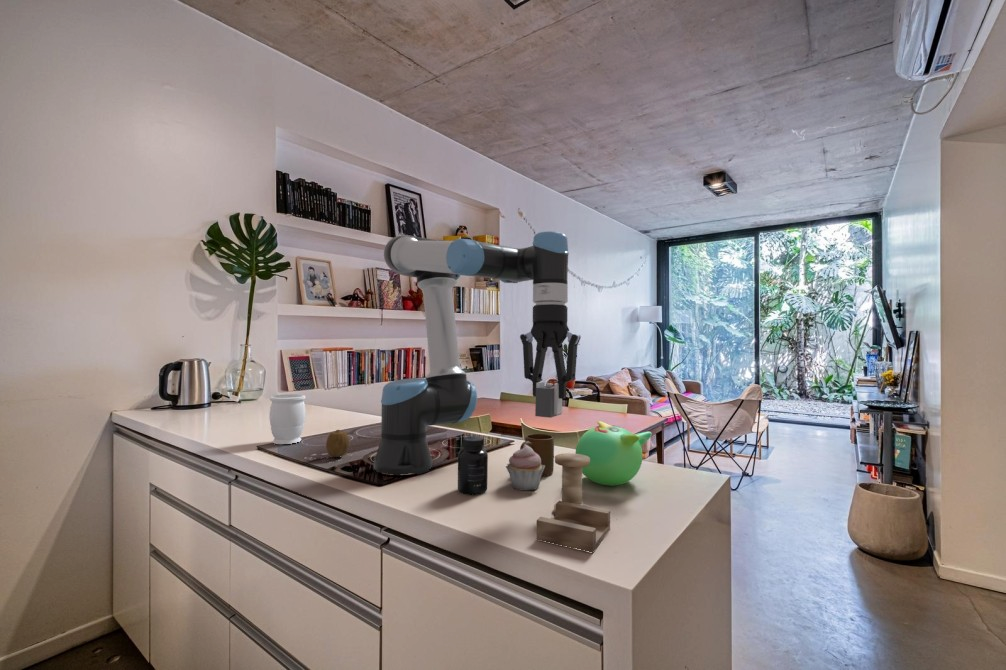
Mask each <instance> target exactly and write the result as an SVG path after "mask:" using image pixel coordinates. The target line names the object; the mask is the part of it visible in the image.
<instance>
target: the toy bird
mask: <svg viewBox="0 0 1006 670" xmlns="http://www.w3.org/2000/svg"><path fill="white" fill-rule="evenodd" d="M596 423H597V425H598V426H594V427H592V428H589V429H588V430H587V431H586V432H584V433H583V434H581V436H580V438H579V440H578V441H577V444H576V447H575V453H574V454H582V455H585V456H588V457H589V458H590V465H588V466H585V467H582V475H583V476H585V477H586V479H589V480H590V481H591V482H594V483H597V484H600V485H603V486H610V487H611V486H620V485H624V484H626V483H628V482H630V481H631V480H632V479H634V478H635V477H636V475H637V474H638V472H639V471H640V470H641V469H640V468H641V466H642V462H643V457H644V456H643V448H642V447H643V445H644V444H646V443H647V441H648V440H649V439H651V437H652V435H653V433H652V432H651V431H643V432H639V433H635V434H634V433H632V432H631V431H629V430H627V429H625V428H623V427H621V426H618V425H611V424H608V423H607V422H604V421H601V420H597V421H596Z"/></svg>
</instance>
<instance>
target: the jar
mask: <svg viewBox="0 0 1006 670" xmlns="http://www.w3.org/2000/svg"><path fill="white" fill-rule="evenodd" d="M306 398H307V395H305V394H280V395H273V396H270V398H269V400H270V401H271V404H270V408H269V424H270V431H271V434H272V437H274V439H273V440H272V444H273V443H276V444H291V445H293V444H292V443H296V444H298V443H297V442H299V443H301V442H302V441H301V440H302V438H301V435H302V433H303V431H304V426H305V422H306V403H305V400H306ZM300 441H301V442H300Z"/></svg>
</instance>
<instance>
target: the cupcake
mask: <svg viewBox="0 0 1006 670" xmlns="http://www.w3.org/2000/svg"><path fill="white" fill-rule="evenodd" d="M544 467H545V466H544V465H541V458H540V456H539V455H538V454H537V453H535V452H534V451H533V449H532V448H531V447H529V446H527V445H526V444H524V446H523V449H520V448H519V449H518V450H516V451H515V452H513V454H512V455H511V456H510V457H509V459H508V463H506V466H505V468H506V471H507V472H508V475H509V478H510V482H511V486H512V487H513V488H514V489H516V490H518V491H519V490H521V491H533V490H536V489H538V488H539V486H540V484H541V483H540V482H541V479H542V476H541V475H542V473H543V470H544Z"/></svg>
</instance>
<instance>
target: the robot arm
mask: <svg viewBox="0 0 1006 670" xmlns="http://www.w3.org/2000/svg"><path fill="white" fill-rule="evenodd" d="M568 243H569V241H568V237H567V235H566V234H564V233H563V232H561V231H560V232H559V231H540V232H537V233H536V234H535V235H534V236H533V242H532V245H531V246H528V247H522V248H517V247H516V248H515V247H511V246H506V245H505V246H504V245H501V244H500V245H499V244H494V243H489V242H483V241H482V242H481V241H478V240H474V239H472V238H471V239H469V238H456V239H454V240H442V239H438V240H437V239H432V238H426V237H422V236H421V237H420V236H416V235H408V234H401V235H397V236H394V237H393V238H391V239H389V240H388V241H387V243H386V244H385V246H384V249H383V258H384V261H385V263H386V266H387V267H388V268H389V269H390V270H391V271H392V272H394V273H396V274H398V275H401V276H404V277H410V278H416V284H417V288H419V290H421V291H422V293H423V294H422V295H423V303H424V317H425V326H426V327H425V329H426V338H427V349H428V360H429V362H428V364H429V373H427V375H426V377H425V378H423V377H413V378H403V379H397V380H396V379H395V380H393V381H390V382H388V383H386V384H384V386H383V387H382V392H381V393H382V394H381V400H380V403H381V419H380V421H381V425H380V426H381V427H380V429H381V435H380V442H379V446H378V448H377V451H376V455H375V458H374V460H373V470H374V469H375V470H376V471H379V472H383V473H388V474H408V473H417V475H421V474H425V473H427V472H430V470H429V469H431V467H432V468H433V457H432V455H431V452H430V448H429V445H428V444H429V443H428V441H427V427H429V426H438V425H439V426H440V425H446V424H447V425H448V424H458V423H460V422H464V421H467V420H468V419H470V418H471V416H472V415H473V413H474V412H475V410H476V407H477V403H478V394H477V393H478V392H477V388H476V387H475V386H474V384H473V382H472V381H469V380H468V379H467V373H466V372H465V371H464V370H462V369H461V365H460V363H461V362H460V354H459V353H460V352H459V345H458V344H459V343H458V333H457V325H456V322H457V321H456V314H455V305H454V294H453V288H454V287H455V286H456V285H457V284H458V283H457V282H458V280H459V279H460V277H461V276H465V277H477V278H478V277H479V278H486V279H487V278H488V279H493V280H499V281H501V282H502V283H504V284H518V283H520V282H521V283H522V282H527V281H532V285H533V286H532V302H533V303H534V304H535V305H533V306H532V327H531V329H530V331H529V332H527V333H525V334H524V333H522V334H520V336H519V339H520V340H521V343H522V351H523V352H522V353H523V355H522V356H523V374H524V378H525V379H526V380H529V381H531V382H532V396H533V398H534V397H535V398H536V388H538V387H544V386H545V384H546V383H545V381H543V371H544V365H545V360H546V356H547V355H546V353H547V352H548V348H551V351H552V353H553V358H554V365H555V371H556V372H555V373H556V379H557V381H556V383H554V414H555V415H557V416H559V415H558V414H560V415H562V413H563V399H566V397H567V384H568V382H571V381H574V380H575V379H576V370H577V358H578V357H577V355H578V345H579V343H580V341H581V337H582V336H581V334H576V333H574V332H572V331H570V328H569V327H568V307H567V305H566V304H567V303H568V301H569V297H568V293H569V291H568V290H569V289H568V288H569V286H568V285H569V284H568V275H569V274H568V269H569V268H568V267H569V266H568V265H569V254H570V253H569V245H568ZM566 338H567V342H568V345H567V357H566V358H567V359H566V364H565V358H564V357H565V356H564V346H563V344H564V342H565V340H566ZM533 340H535V342H536V347H535V348H536V349H535V351H536V353H535V359H534V350H533V349H534V348H533ZM431 470H432V469H431ZM417 475H416V476H417Z"/></svg>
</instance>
